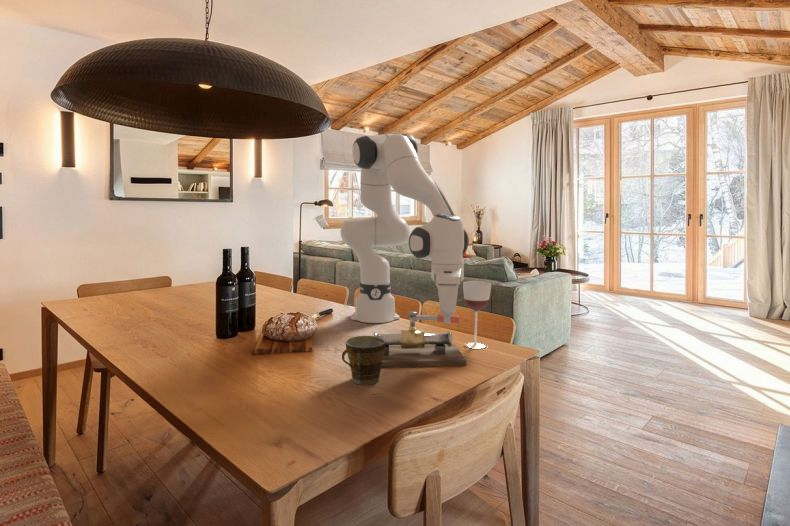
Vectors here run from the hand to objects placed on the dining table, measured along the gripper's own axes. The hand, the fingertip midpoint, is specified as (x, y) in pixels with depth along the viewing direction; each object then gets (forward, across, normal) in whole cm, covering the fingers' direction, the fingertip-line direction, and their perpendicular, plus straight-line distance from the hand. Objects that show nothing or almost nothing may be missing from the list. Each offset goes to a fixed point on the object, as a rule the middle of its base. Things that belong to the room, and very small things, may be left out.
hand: (447, 323), depth 126 cm
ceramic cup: (+11, +17, -21) cm, 29 cm away
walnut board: (+11, -3, -10) cm, 15 cm away
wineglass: (+11, -16, +9) cm, 22 cm away
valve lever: (+2, -2, -4) cm, 5 cm away
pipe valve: (+10, -3, -10) cm, 14 cm away
